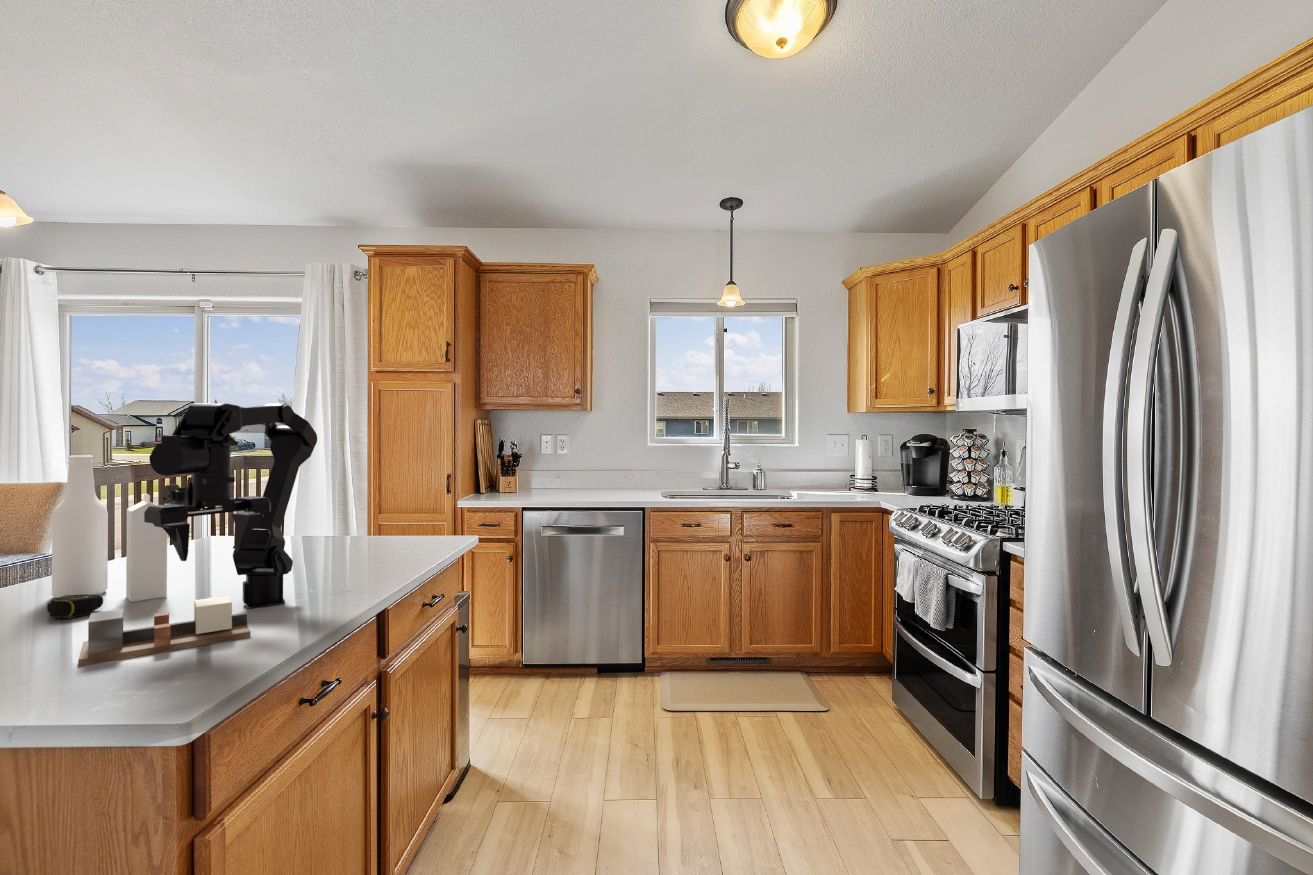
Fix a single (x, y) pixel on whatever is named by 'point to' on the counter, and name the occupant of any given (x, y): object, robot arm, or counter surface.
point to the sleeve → (213, 614)
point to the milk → (145, 555)
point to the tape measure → (74, 605)
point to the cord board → (148, 636)
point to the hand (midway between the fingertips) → (211, 556)
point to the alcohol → (80, 535)
